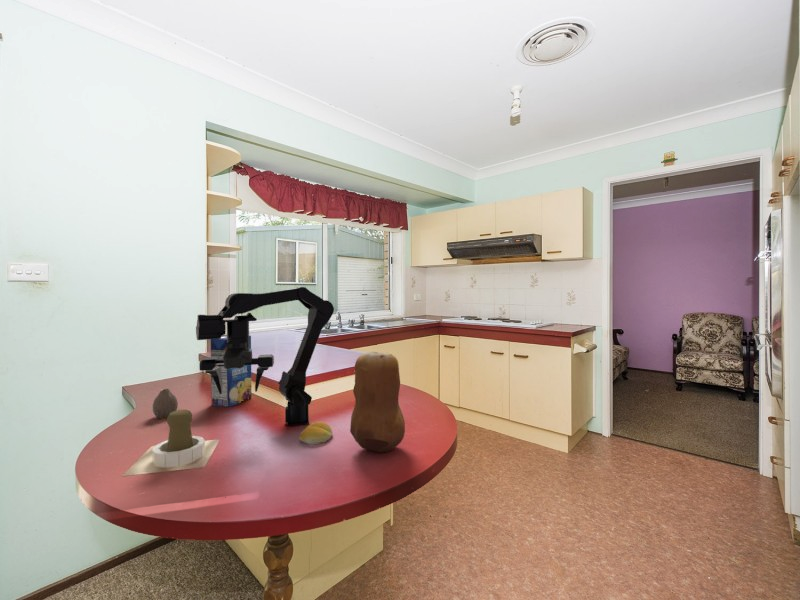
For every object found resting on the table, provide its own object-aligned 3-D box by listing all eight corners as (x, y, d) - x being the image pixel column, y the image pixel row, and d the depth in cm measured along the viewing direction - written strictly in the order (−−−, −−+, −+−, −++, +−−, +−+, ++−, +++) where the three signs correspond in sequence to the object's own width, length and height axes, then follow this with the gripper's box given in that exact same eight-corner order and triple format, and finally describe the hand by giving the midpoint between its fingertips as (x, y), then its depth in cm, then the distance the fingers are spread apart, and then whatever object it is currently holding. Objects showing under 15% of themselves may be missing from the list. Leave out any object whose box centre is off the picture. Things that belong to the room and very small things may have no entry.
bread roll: (295, 444, 97) (295, 429, 97) (309, 432, 106) (309, 418, 106) (324, 446, 95) (324, 431, 95) (336, 433, 104) (336, 419, 104)
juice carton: (236, 396, 142) (235, 334, 141) (251, 398, 139) (251, 335, 139) (211, 405, 131) (210, 338, 130) (227, 407, 128) (226, 339, 128)
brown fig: (147, 418, 117) (147, 391, 117) (168, 412, 123) (168, 386, 123) (162, 421, 114) (161, 393, 114) (182, 414, 121) (182, 388, 121)
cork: (171, 465, 83) (170, 417, 83) (161, 457, 86) (160, 411, 86) (199, 455, 88) (198, 410, 87) (188, 449, 91) (187, 405, 91)
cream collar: (209, 445, 93) (208, 434, 93) (197, 464, 83) (197, 451, 83) (163, 450, 91) (162, 438, 91) (145, 470, 81) (145, 456, 80)
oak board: (220, 443, 97) (220, 439, 97) (204, 471, 82) (204, 466, 82) (151, 449, 93) (151, 446, 93) (121, 480, 78) (121, 476, 78)
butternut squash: (400, 437, 101) (399, 347, 100) (409, 458, 88) (409, 355, 87) (349, 440, 99) (348, 348, 98) (351, 463, 85) (350, 357, 85)
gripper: (193, 342, 93) (193, 403, 93) (270, 339, 97) (271, 397, 98) (204, 337, 103) (205, 392, 104) (273, 335, 108) (274, 387, 108)
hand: (238, 392), depth 103 cm, fingers open, 9 cm apart
